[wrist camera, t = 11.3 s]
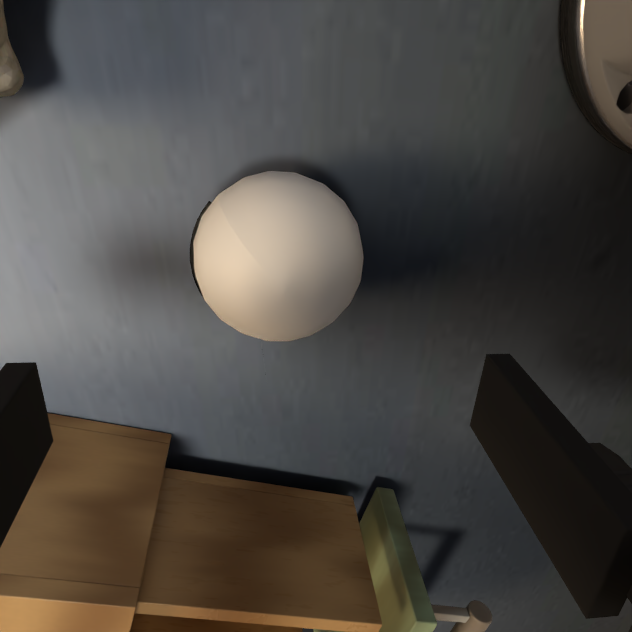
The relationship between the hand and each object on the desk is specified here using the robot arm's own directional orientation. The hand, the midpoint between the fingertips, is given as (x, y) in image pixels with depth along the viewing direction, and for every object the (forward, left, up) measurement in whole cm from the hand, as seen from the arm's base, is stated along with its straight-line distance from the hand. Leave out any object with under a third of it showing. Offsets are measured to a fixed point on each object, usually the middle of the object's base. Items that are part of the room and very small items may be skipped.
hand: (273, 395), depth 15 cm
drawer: (-2, +21, -11) cm, 24 cm away
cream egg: (0, 0, -12) cm, 12 cm away
